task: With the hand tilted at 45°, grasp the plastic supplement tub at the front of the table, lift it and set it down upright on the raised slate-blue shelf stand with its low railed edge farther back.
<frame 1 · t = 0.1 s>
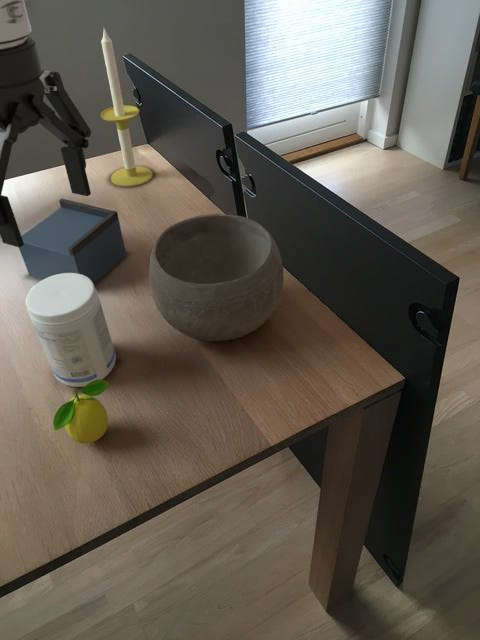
hand: (49, 217, 71), 23 cm above the table, tool pointing down, fingers open, 13 cm apart
shelf: (78, 264, 103), on the table
bowl: (220, 319, 90), on the table
lemon: (93, 436, 73), on the table
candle: (132, 177, 129), on the table
supplement tub: (85, 367, 83), on the table
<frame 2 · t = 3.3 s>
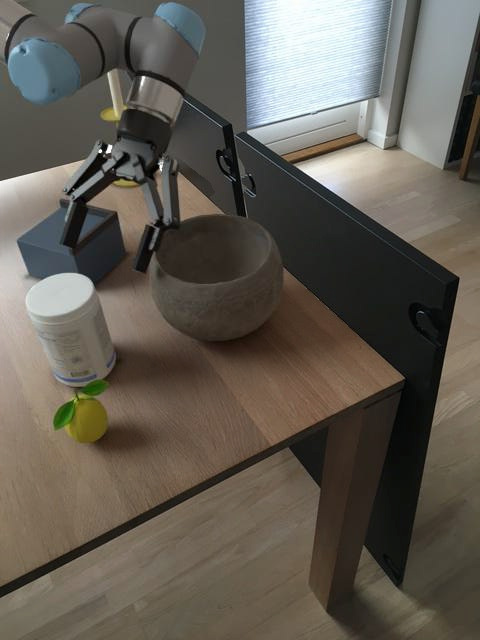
hand: (101, 258, 78), 15 cm above the table, tool tilted 45°, fingers open, 13 cm apart
nothing on the table moved.
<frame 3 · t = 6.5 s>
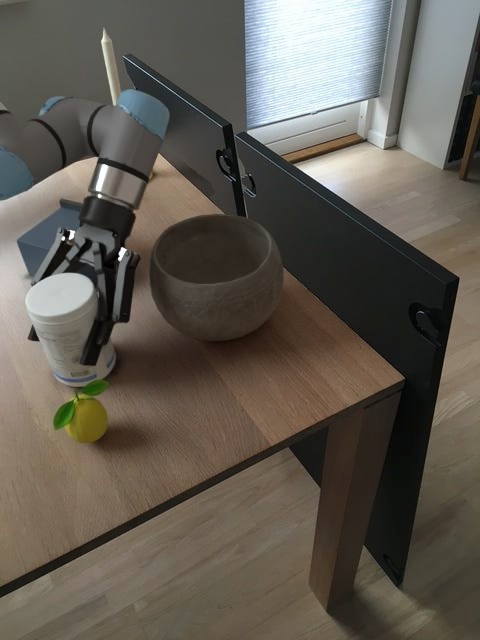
hand: (61, 352, 77), 6 cm above the table, tool tilted 45°, fingers closed on supplement tub, 9 cm apart
supplement tub: (85, 367, 83), on the table, touching gripper
everything else where it was.
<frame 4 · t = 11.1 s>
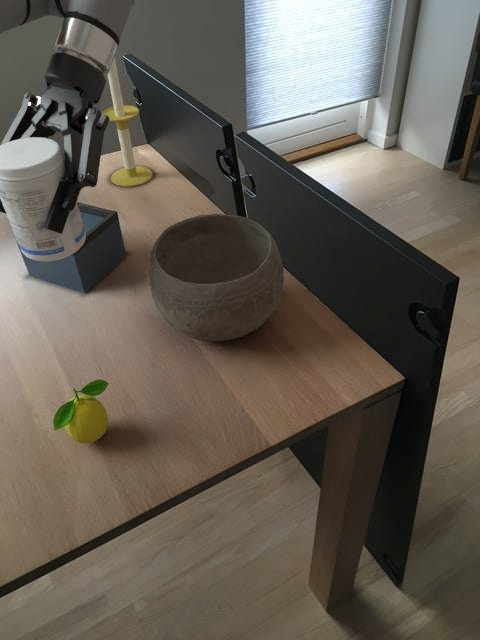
hand: (26, 221, 74), 22 cm above the table, tool tilted 45°, fingers closed on supplement tub, 9 cm apart
supplement tub: (54, 246, 80), point 15 cm above the table, touching gripper
everything else where it was.
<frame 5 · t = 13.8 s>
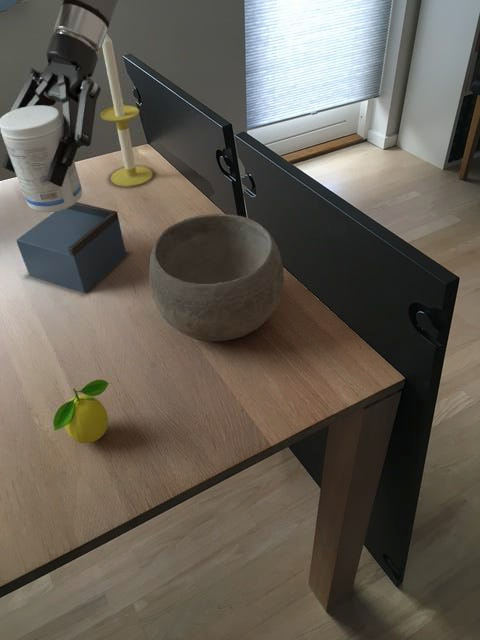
hand: (31, 176, 87), 20 cm above the table, tool tilted 45°, fingers closed on supplement tub, 9 cm apart
supplement tub: (55, 201, 93), point 14 cm above the table, touching gripper
everything else where it was.
when the fingers open (14 cm above the table, at t = 16.0 s): supplement tub stays where it is, resting on shelf.
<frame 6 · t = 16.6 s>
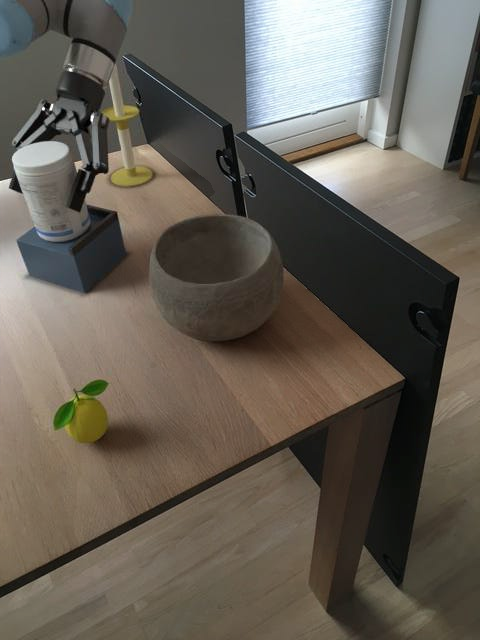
hand: (43, 200, 91), 15 cm above the table, tool tilted 45°, fingers open, 13 cm apart
supplement tub: (64, 230, 97), point 8 cm above the table, touching shelf
everything else where it was.
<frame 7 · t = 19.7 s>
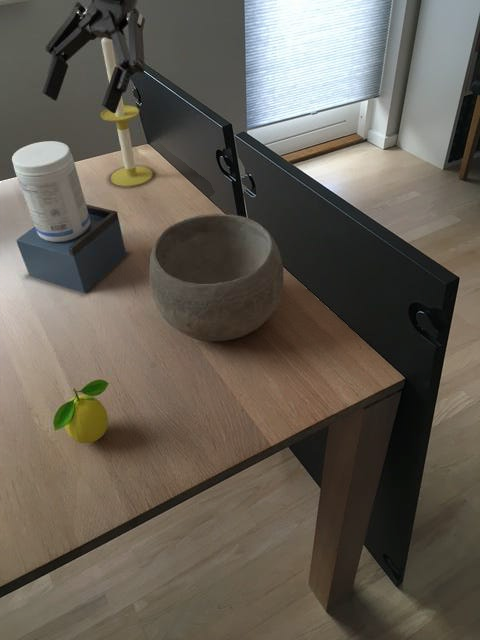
hand: (78, 103, 91), 27 cm above the table, tool tilted 45°, fingers open, 13 cm apart
nothing on the table moved.
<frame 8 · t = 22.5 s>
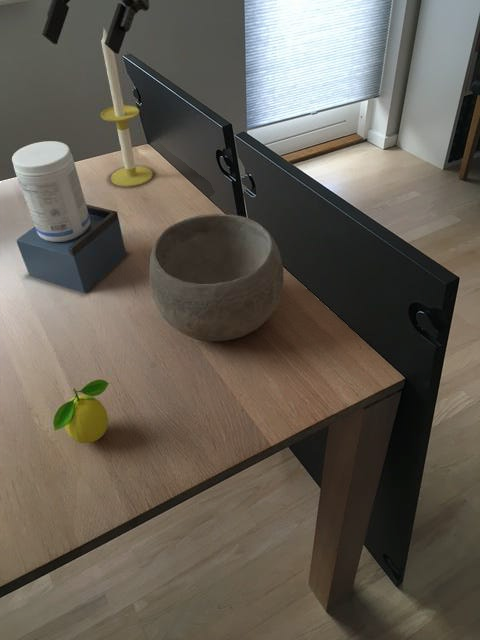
hand: (79, 44, 87), 36 cm above the table, tool tilted 45°, fingers open, 13 cm apart
nothing on the table moved.
at the end: supplement tub inside the target area on the shelf (0.6 cm from its centre), point 7.8 cm above the shelf's base; supplement tub tilted 0°; the gripper is holding nothing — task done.
